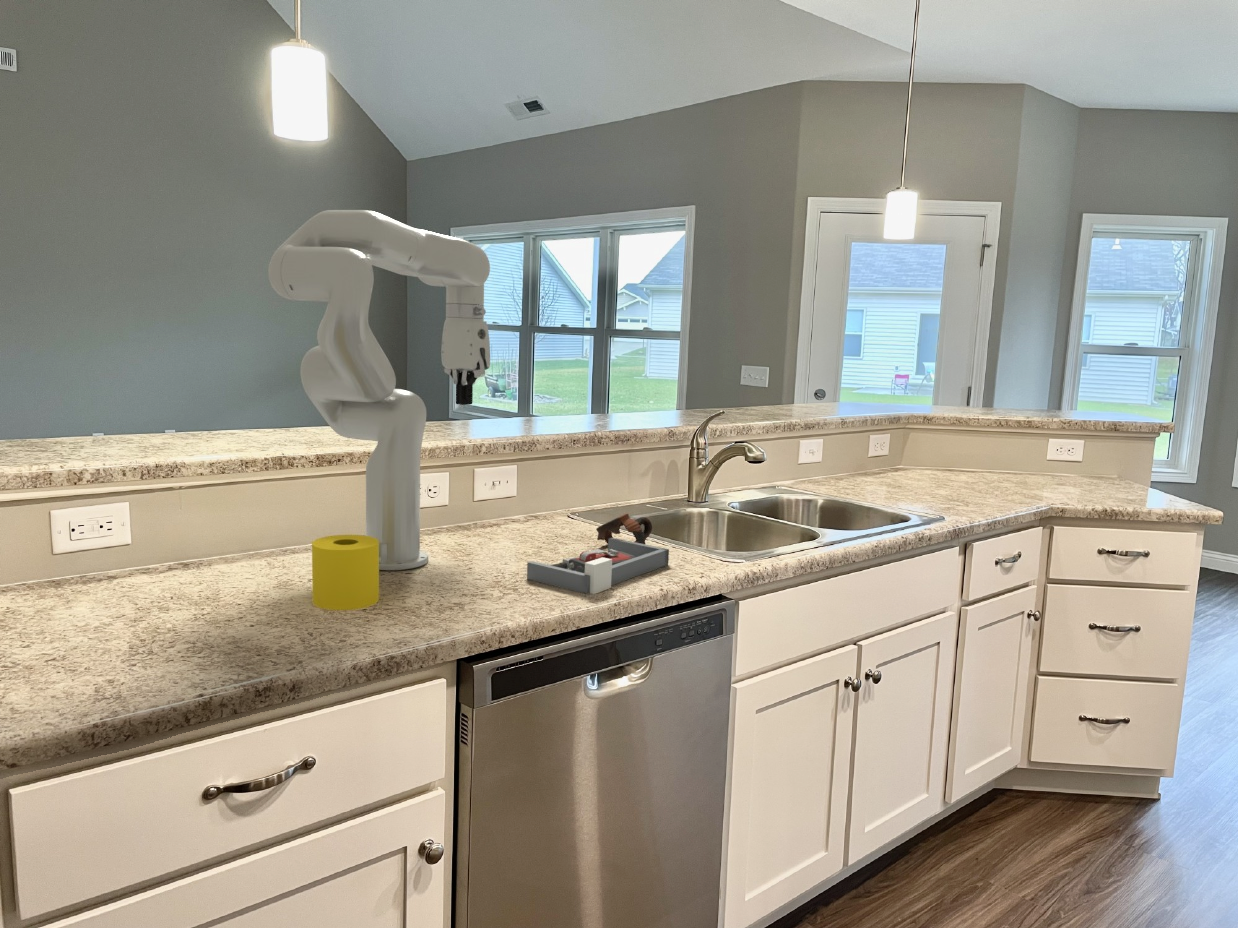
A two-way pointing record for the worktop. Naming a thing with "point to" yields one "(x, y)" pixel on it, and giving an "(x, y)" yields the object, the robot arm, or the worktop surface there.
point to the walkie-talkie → (586, 556)
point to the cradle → (602, 568)
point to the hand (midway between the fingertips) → (464, 404)
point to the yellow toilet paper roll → (345, 572)
